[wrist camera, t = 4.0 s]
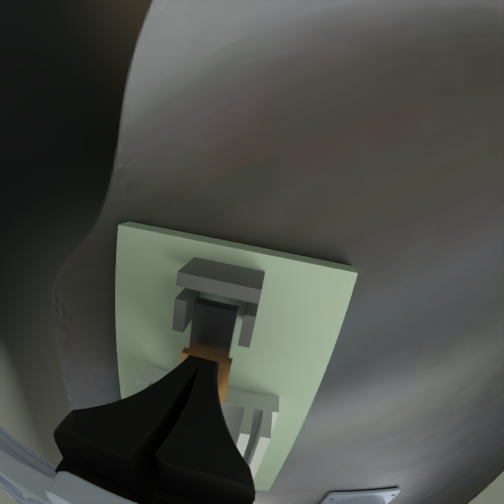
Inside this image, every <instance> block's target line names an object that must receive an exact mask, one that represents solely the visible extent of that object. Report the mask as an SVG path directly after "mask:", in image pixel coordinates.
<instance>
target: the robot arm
mask: <svg viewBox="0 0 504 504" xmlns="http://www.w3.org/2000/svg"><path fill="white" fill-rule="evenodd" d="M218 370H219V364H218V362H215V361H210V360H206V359H202V358H198V357H194V356H188V357H187V358H186V359H185V360H184V361H183V362H181V363H180V364H179V365H178V366H177V367H176V368H174V369H173V370H172V371H170V372H169V373H168V374H167V375H165V376H164V377H162V378H161V379H160V380H158V381H156V382H155V383H153V384H152V385H150V386H149V387H147V388H145V389H143V390H141V391H139V392H137V393H135V394H133V395H131V396H129V397H126V398H124V399H121V400H119V401H116V402H113V403H109V404H106V405H102V406H97V407H92V408H86V409H79V410H72V412H71V413H70V414H69V415H67V416H66V417H65V419H64V420H63V421H62V422H61V423H60V425H59V426H58V427H57V428H56V429H55V431H54V438H55V442H56V444H57V446H58V448H59V450H60V452H61V454H62V456H63V459H62V461H61V462H60V464H59V465H58V467H56V466H55V465H53V464H51V463H50V462H48V461H47V460H45V459H44V458H42V457H41V456H39V455H37V454H36V453H35V452H33V451H32V450H30V449H29V448H27V447H26V446H24V445H23V444H22V443H20V442H19V441H18V440H16V439H15V438H14V437H12V436H11V435H10V434H9V433H7V432H6V431H5V430H4V429H2V428H1V427H0V488H1V489H2V490H4V491H5V492H6V493H7V494H8V495H9V496H11V497H12V498H13V499H14V500H15V501H17V502H18V503H19V504H253V502H254V500H255V486H254V481H253V477H252V473H251V469H250V467H249V466H248V464H247V463H246V461H245V460H244V458H243V457H242V455H241V453H240V452H239V450H238V448H237V446H236V445H235V443H234V440H233V438H232V436H231V434H230V432H229V430H228V427H227V424H226V421H225V418H224V415H223V412H222V408H221V403H220V398H219V391H218ZM399 492H400V488H392V489H383V490H372V491H356V492H332V493H330V494H328V495H327V497H326V498H325V499H324V500H323V501H322V502H321V503H320V504H387V503H389V502H390V501H391V500H392V499H393V498H394V497H395V496H396V495H397V494H398V493H399Z"/></svg>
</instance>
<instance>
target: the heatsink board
mask: <svg viewBox="0 0 504 504" xmlns="http://www.w3.org/2000/svg"><path fill="white" fill-rule="evenodd" d="M357 274H358V273H357V272H356V270H355V269H354V268H353V267H352V266H349V265H344V264H340V263H335V262H330V261H325V260H320V259H315V258H310V257H305V256H300V255H295V254H291V253H286V252H281V251H276V250H271V249H266V248H261V247H256V246H251V245H246V244H241V243H236V242H231V241H226V240H221V239H216V238H211V237H206V236H201V235H196V234H191V233H185V232H180V231H175V230H170V229H165V228H160V227H155V226H150V225H145V224H139V223H134V222H126V223H123V224H119V225H118V235H117V251H116V277H115V317H116V343H117V359H118V371H119V382H120V391H121V399H124V398H126V397H129V396H131V395H133V394H135V393H137V392H139V391H141V390H143V389H145V388H147V387H149V386H150V385H152V384H153V383H155V382H156V381H158V380H160V379H161V378H162V377H164V376H165V375H167V374H168V373H169V372H170V371H172V370H173V369H174V368H176V367H177V366H178V365H179V364H180V363H181V353H182V351H183V349H184V347H187V348H189V343H190V333H191V324H192V315H193V306H194V301H195V300H196V299H197V297H200V298H205V299H209V300H213V301H218V302H222V303H227V304H232V305H236V306H239V308H238V313H237V319H236V324H235V330H234V335H233V341H232V346H231V351H230V357H229V358H233V361H232V366H231V372H230V377H229V382H228V387H227V392H226V397H225V401H224V403H221V408H222V412H223V415H224V418H225V421H226V424H227V427H228V430H229V432H230V434H231V436H232V438H233V440H234V443H235V445H236V446H237V448H238V450H239V452H240V453H241V455H242V457H243V458H244V460H245V461H246V463H247V464H248V466H249V467H250V469H251V473H252V477H253V481H254V486H255V490H257V491H265V492H269V490H270V488H271V486H272V484H273V483H274V481H275V479H276V477H277V475H278V473H279V471H280V470H281V468H282V466H283V464H284V462H285V460H286V458H287V456H288V454H289V452H290V450H291V448H292V446H293V444H294V442H295V440H296V438H297V435H298V433H299V431H300V429H301V427H302V425H303V423H304V420H305V418H306V416H307V414H308V411H309V409H310V407H311V404H312V402H313V400H314V397H315V395H316V393H317V390H318V388H319V385H320V383H321V380H322V378H323V375H324V373H325V370H326V367H327V365H328V362H329V360H330V357H331V354H332V351H333V349H334V346H335V343H336V340H337V337H338V335H339V332H340V329H341V326H342V323H343V320H344V317H345V314H346V311H347V307H348V304H349V301H350V298H351V295H352V291H353V288H354V285H355V281H356V278H357Z"/></svg>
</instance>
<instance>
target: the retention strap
mask: <svg viewBox="0 0 504 504" xmlns="http://www.w3.org/2000/svg"><path fill="white" fill-rule="evenodd" d="M238 308H239V306H236V305H232V304H227V303H222V302H218V301H213V300H209V299H205V298H200V297H197V299H196V300H195V301H194V306H193V315H192V324H191V333H190V343H189V348H187V347H184V349H183V351H182V353H181V362H183V361H184V360H185V359H186V358H187V357H188V356H194V357H198V358H202V359H206V360H210V361H215V362H218V364H219V370H218V391H219V398H220V403H224V401H225V397H226V392H227V387H228V382H229V377H230V372H231V366H232V361H233V358H229V357H230V351H231V346H232V341H233V335H234V330H235V324H236V319H237V313H238Z"/></svg>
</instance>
